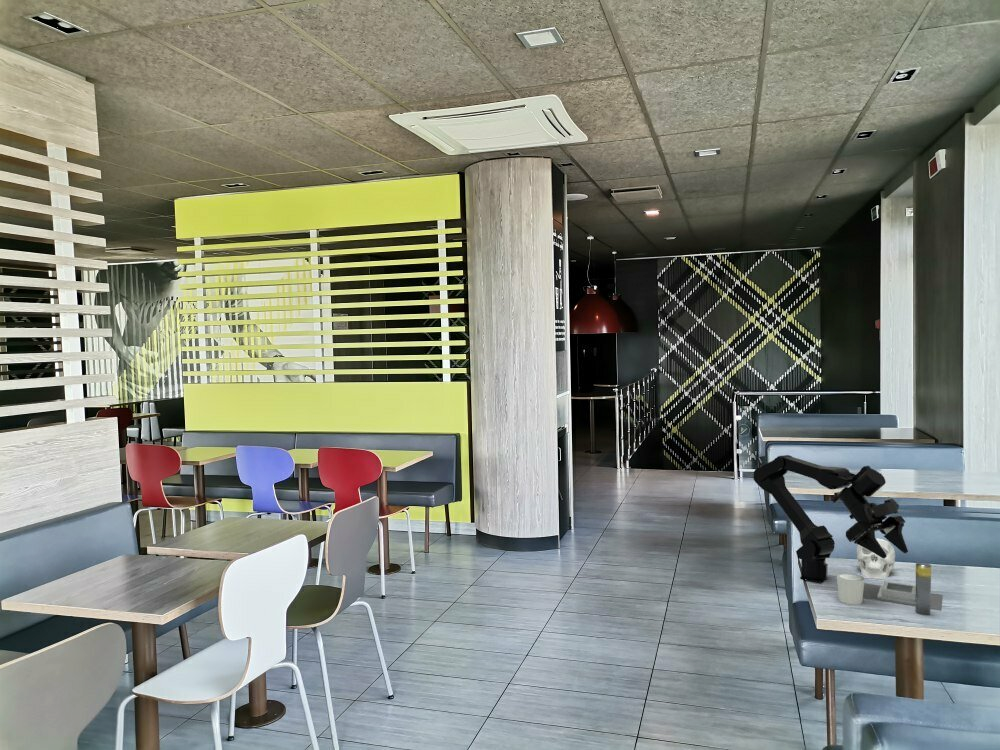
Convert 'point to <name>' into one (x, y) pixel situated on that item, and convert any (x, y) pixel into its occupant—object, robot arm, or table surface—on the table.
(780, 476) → the robot arm
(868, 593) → the mat
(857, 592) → the white cylinder
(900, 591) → the silver square tray
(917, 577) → the grey yellow-banded cylinder
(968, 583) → the table surface
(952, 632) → the table surface
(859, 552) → the skull bowl
